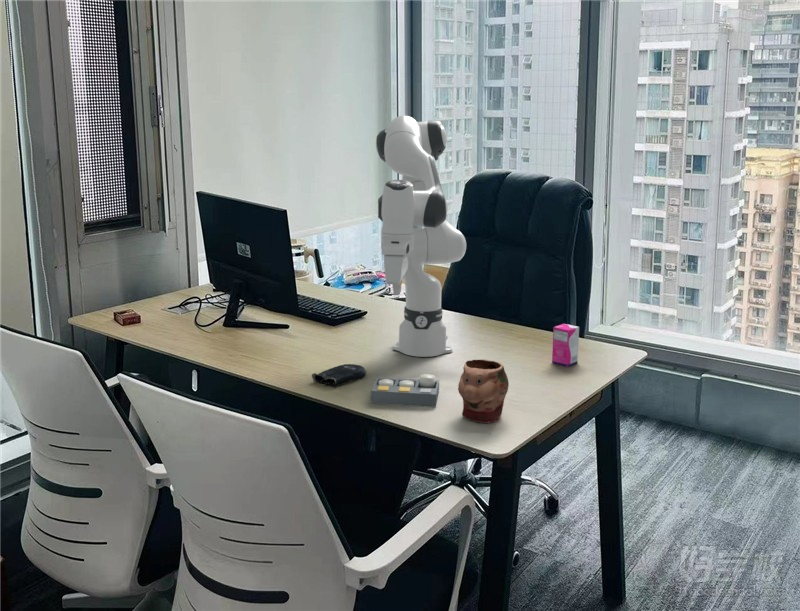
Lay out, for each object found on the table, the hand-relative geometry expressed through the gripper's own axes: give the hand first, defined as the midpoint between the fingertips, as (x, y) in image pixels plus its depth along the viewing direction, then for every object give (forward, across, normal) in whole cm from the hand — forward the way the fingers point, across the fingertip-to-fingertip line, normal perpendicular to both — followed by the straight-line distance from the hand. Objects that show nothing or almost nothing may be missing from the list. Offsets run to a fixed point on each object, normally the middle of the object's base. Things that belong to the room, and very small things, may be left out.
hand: (397, 293), depth 227 cm
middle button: (+26, +5, +4) cm, 27 cm away
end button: (+26, +5, -2) cm, 26 cm away
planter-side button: (+24, +5, +9) cm, 26 cm away
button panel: (+27, +7, +4) cm, 28 cm away
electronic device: (+28, -6, -16) cm, 33 cm away
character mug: (+27, +15, +24) cm, 40 cm away
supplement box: (+27, -31, +48) cm, 63 cm away
